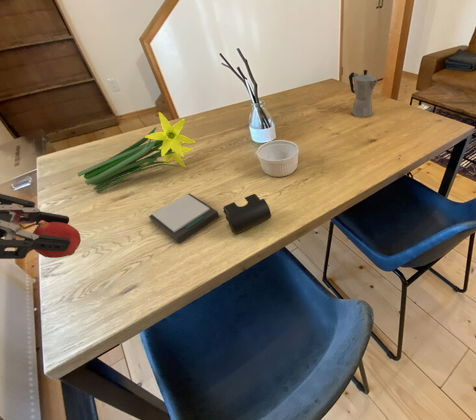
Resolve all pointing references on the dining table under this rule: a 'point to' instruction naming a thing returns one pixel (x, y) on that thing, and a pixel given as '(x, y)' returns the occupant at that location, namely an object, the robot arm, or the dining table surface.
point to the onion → (59, 231)
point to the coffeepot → (362, 93)
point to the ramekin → (278, 157)
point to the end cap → (247, 213)
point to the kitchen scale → (184, 217)
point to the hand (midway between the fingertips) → (67, 233)
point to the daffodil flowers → (140, 155)
